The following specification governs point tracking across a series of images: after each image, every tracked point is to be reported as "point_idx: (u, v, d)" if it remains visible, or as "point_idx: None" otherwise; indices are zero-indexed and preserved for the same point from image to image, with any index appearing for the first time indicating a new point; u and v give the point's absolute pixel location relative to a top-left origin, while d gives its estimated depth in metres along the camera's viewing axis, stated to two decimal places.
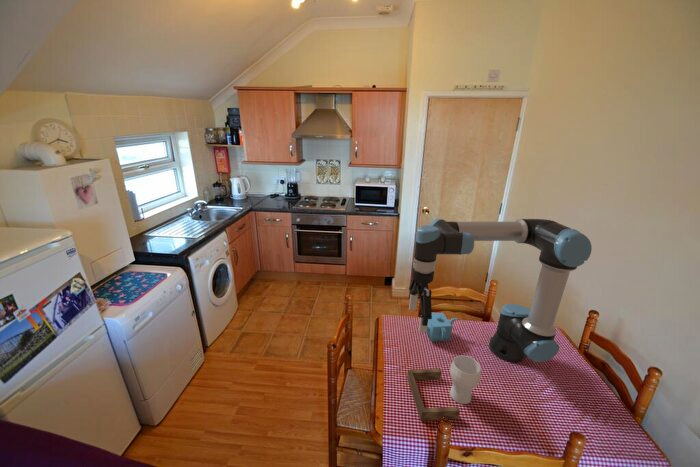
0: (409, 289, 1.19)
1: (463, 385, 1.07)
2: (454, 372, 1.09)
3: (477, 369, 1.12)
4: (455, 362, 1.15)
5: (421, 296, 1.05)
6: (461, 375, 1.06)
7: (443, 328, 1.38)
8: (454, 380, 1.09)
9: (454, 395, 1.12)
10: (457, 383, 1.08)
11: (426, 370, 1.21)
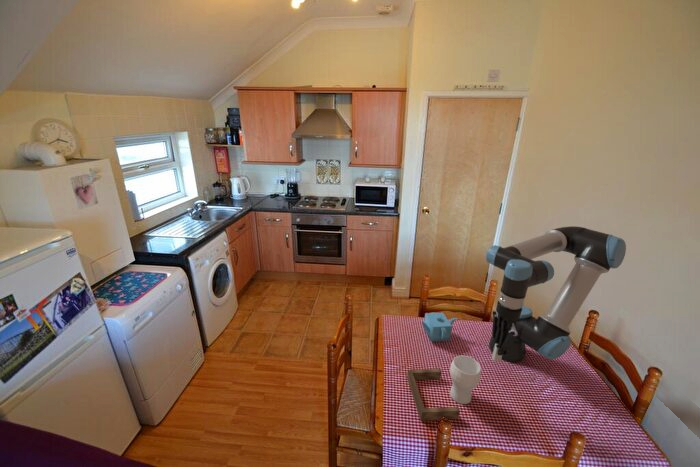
0: (493, 337, 1.10)
1: (463, 385, 1.07)
2: (454, 372, 1.09)
3: (477, 369, 1.12)
4: (455, 362, 1.15)
5: (504, 331, 1.03)
6: (461, 375, 1.06)
7: (443, 328, 1.38)
8: (454, 380, 1.09)
9: (454, 395, 1.12)
10: (457, 383, 1.08)
11: (426, 370, 1.21)
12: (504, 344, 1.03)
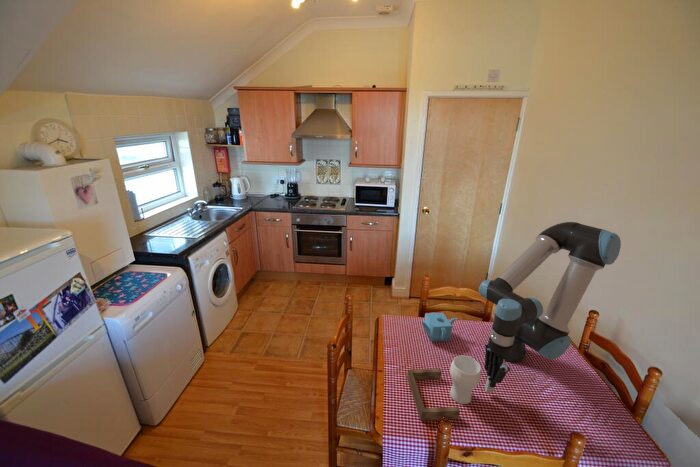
0: (485, 369, 1.15)
1: (463, 385, 1.07)
2: (454, 372, 1.09)
3: (477, 369, 1.12)
4: (455, 362, 1.15)
5: (495, 366, 1.08)
6: (461, 375, 1.06)
7: (443, 328, 1.38)
8: (454, 380, 1.09)
9: (454, 395, 1.12)
10: (457, 383, 1.08)
11: (426, 370, 1.21)
12: (496, 378, 1.08)
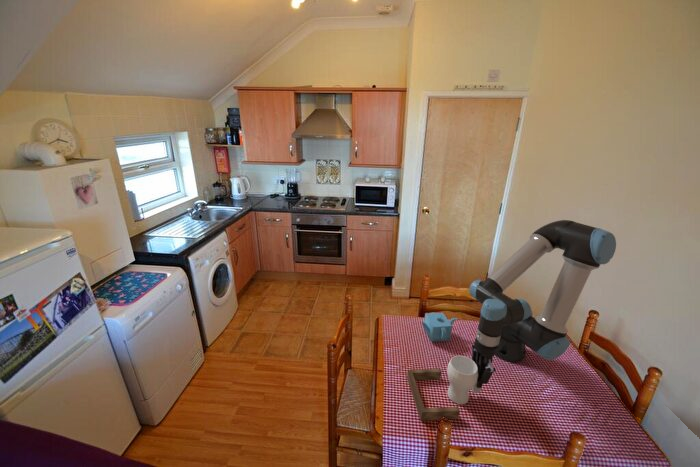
0: None
1: (460, 385, 1.07)
2: (451, 372, 1.08)
3: (474, 369, 1.11)
4: (452, 362, 1.15)
5: (482, 366, 1.08)
6: (458, 375, 1.06)
7: (443, 328, 1.38)
8: (451, 380, 1.09)
9: (451, 395, 1.12)
10: (454, 383, 1.08)
11: (426, 370, 1.21)
12: (482, 379, 1.07)
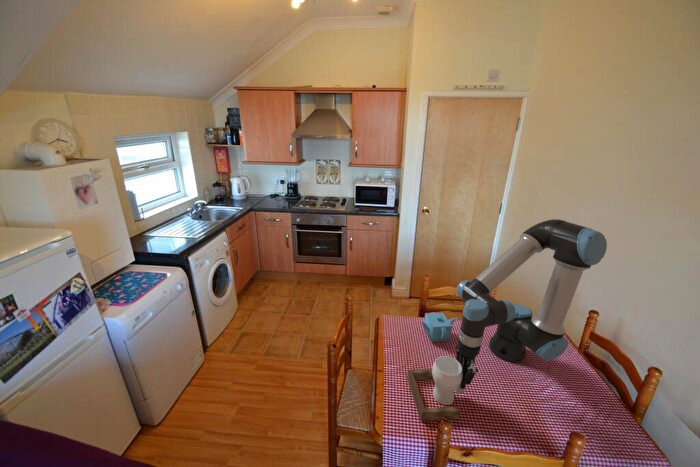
0: None
1: (444, 386, 1.06)
2: (435, 373, 1.08)
3: (459, 370, 1.11)
4: (437, 363, 1.14)
5: (464, 367, 1.07)
6: (442, 376, 1.06)
7: (443, 328, 1.38)
8: (436, 381, 1.09)
9: (436, 396, 1.12)
10: (438, 384, 1.08)
11: (426, 370, 1.21)
12: (464, 379, 1.07)
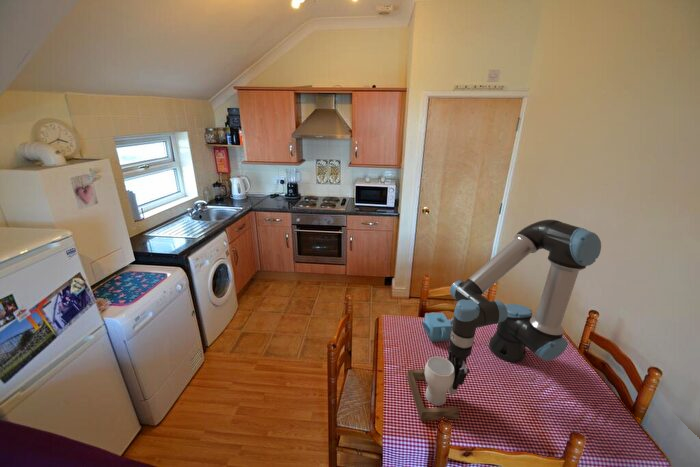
0: None
1: (436, 386, 1.06)
2: (427, 373, 1.08)
3: (451, 370, 1.11)
4: (430, 363, 1.14)
5: (456, 367, 1.07)
6: (434, 376, 1.06)
7: (443, 328, 1.38)
8: (428, 381, 1.08)
9: (428, 396, 1.12)
10: (430, 384, 1.08)
11: None
12: (456, 380, 1.07)
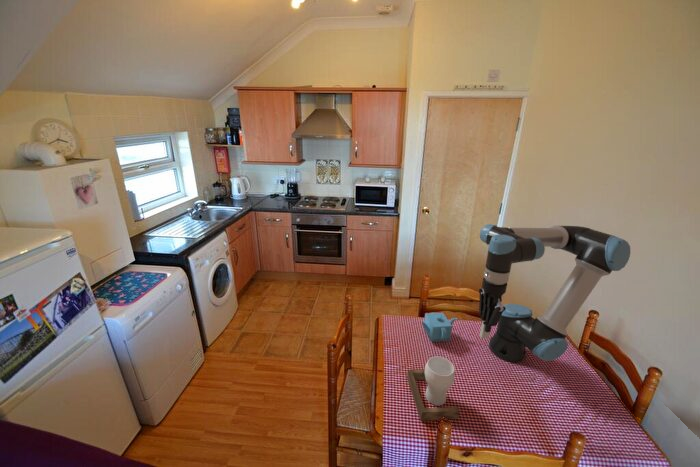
0: (480, 314, 1.09)
1: (436, 386, 1.06)
2: (428, 373, 1.08)
3: (451, 370, 1.11)
4: (430, 363, 1.14)
5: (490, 307, 1.03)
6: (434, 376, 1.06)
7: (443, 328, 1.38)
8: (428, 381, 1.08)
9: (428, 396, 1.12)
10: (431, 384, 1.08)
11: None
12: (491, 320, 1.03)
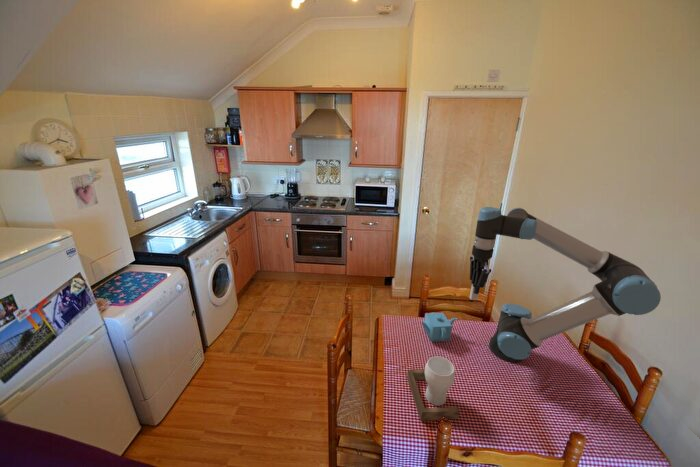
0: (470, 279, 1.25)
1: (436, 386, 1.06)
2: (428, 373, 1.08)
3: (451, 370, 1.11)
4: (430, 363, 1.14)
5: (478, 271, 1.19)
6: (434, 376, 1.06)
7: (443, 328, 1.38)
8: (428, 381, 1.08)
9: (428, 396, 1.12)
10: (431, 384, 1.08)
11: None
12: (479, 282, 1.18)
